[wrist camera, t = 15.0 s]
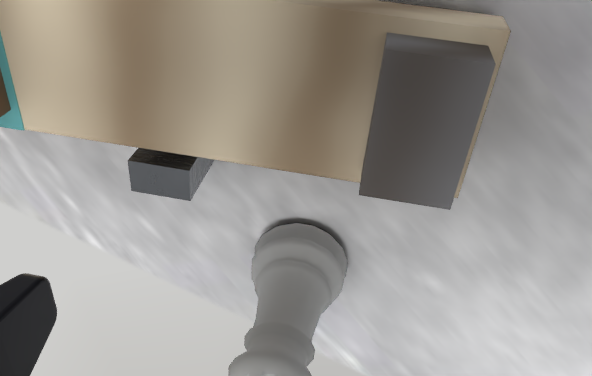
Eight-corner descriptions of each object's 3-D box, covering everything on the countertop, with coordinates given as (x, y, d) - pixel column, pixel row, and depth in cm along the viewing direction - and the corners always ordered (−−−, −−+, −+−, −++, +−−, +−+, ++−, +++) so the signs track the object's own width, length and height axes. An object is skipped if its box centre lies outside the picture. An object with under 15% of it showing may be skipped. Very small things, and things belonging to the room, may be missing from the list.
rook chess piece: (249, 216, 24) (191, 358, 18) (345, 217, 23) (322, 367, 17) (263, 287, 27) (217, 434, 20) (351, 290, 26) (333, 446, 19)
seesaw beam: (499, 9, 17) (520, 47, 14) (452, 165, 20) (461, 224, 17) (-121, -70, 19) (-221, -50, 16) (-68, 86, 22) (-141, 126, 19)
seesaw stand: (210, -92, 17) (177, -79, 15) (213, 161, 23) (190, 201, 20) (-119, -130, 18) (-200, -124, 16) (-39, 119, 24) (-90, 152, 21)
